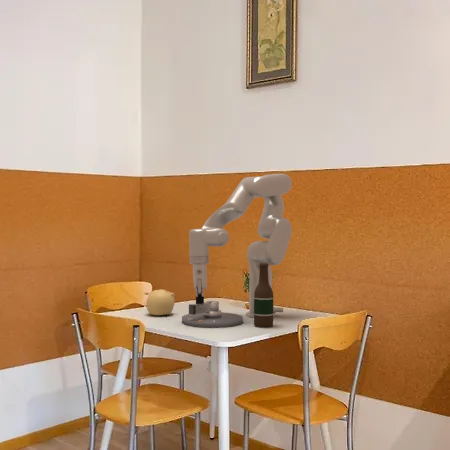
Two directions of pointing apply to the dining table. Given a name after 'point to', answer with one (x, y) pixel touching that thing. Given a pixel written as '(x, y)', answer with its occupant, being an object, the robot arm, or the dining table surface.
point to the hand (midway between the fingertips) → (200, 306)
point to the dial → (206, 309)
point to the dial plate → (212, 320)
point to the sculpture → (160, 302)
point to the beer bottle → (263, 300)
